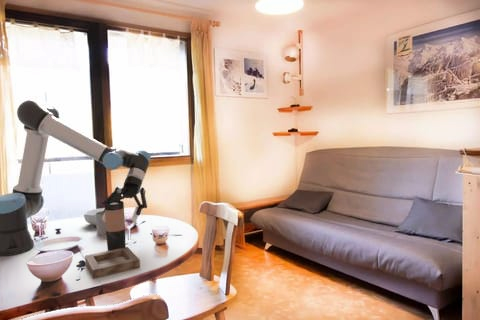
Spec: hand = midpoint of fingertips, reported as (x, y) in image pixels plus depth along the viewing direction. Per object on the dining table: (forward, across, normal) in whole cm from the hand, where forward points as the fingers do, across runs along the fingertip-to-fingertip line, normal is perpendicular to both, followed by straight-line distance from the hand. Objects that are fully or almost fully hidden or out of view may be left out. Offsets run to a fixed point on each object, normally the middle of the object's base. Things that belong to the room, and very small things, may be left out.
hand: (118, 221), depth 146 cm
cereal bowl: (-14, +30, -31) cm, 45 cm away
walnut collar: (+20, -7, +4) cm, 22 cm away
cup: (-5, +19, -22) cm, 29 cm away
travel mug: (+9, +1, -8) cm, 12 cm away
